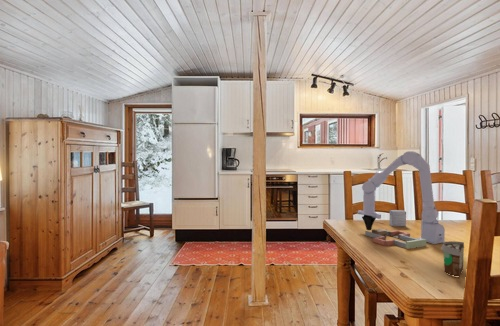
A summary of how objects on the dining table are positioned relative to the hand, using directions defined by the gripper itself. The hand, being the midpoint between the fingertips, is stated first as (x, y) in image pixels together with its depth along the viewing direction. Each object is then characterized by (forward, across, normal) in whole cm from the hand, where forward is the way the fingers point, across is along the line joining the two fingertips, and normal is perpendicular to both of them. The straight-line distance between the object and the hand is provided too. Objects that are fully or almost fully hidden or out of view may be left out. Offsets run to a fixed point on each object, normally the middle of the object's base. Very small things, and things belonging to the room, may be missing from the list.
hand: (368, 229), depth 172 cm
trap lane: (+1, -17, +1) cm, 17 cm away
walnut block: (+2, -7, 0) cm, 7 cm away
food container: (+2, -55, +17) cm, 58 cm away
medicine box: (+2, +5, -27) cm, 28 cm away
